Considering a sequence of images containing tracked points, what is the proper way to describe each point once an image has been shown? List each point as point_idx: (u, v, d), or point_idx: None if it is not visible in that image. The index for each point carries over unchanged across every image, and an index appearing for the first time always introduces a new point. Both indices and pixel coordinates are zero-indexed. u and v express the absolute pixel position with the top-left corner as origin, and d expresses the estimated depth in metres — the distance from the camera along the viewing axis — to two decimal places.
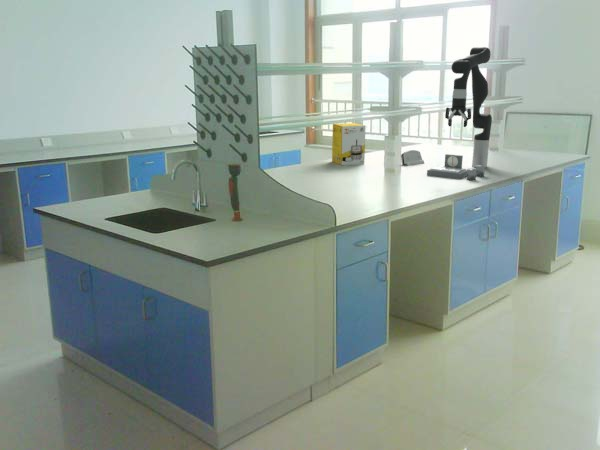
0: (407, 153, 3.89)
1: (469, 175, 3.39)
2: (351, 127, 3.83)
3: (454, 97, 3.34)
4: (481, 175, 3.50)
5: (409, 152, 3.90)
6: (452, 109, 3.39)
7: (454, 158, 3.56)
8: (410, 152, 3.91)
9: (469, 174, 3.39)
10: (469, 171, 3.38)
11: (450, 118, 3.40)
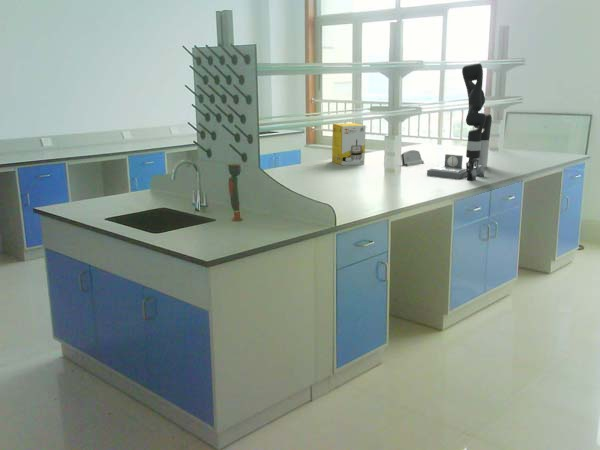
0: (407, 153, 3.89)
1: None
2: (351, 127, 3.83)
3: (478, 149, 3.33)
4: (481, 175, 3.50)
5: (409, 152, 3.90)
6: (472, 162, 3.35)
7: (454, 158, 3.56)
8: (410, 152, 3.91)
9: None
10: None
11: None
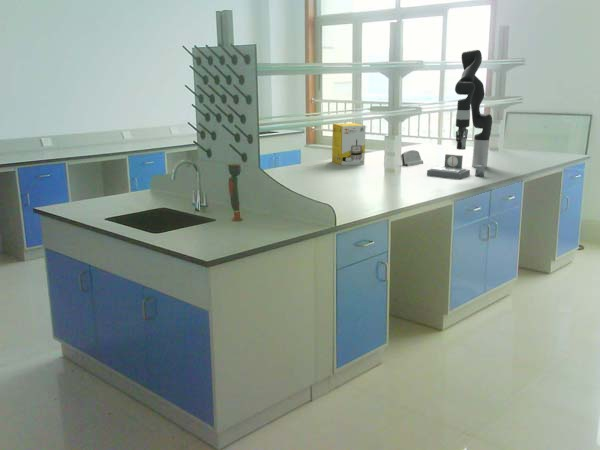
0: (407, 153, 3.88)
1: None
2: (351, 127, 3.83)
3: (467, 118, 3.35)
4: (481, 175, 3.50)
5: (409, 152, 3.90)
6: (462, 131, 3.37)
7: (454, 158, 3.56)
8: (410, 152, 3.90)
9: None
10: None
11: (461, 141, 3.39)
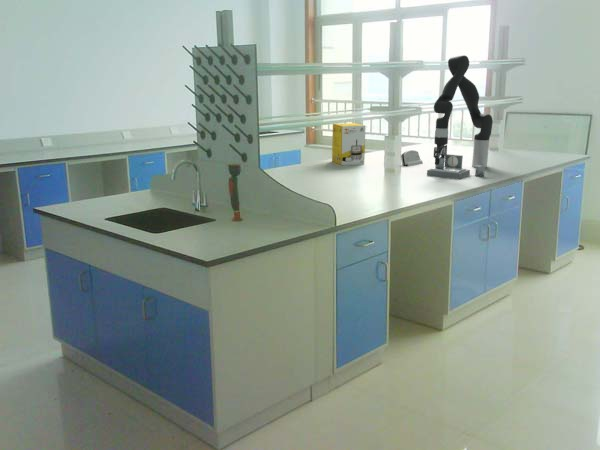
0: (407, 153, 3.88)
1: None
2: (351, 127, 3.83)
3: (445, 136, 3.47)
4: (481, 175, 3.50)
5: (409, 152, 3.89)
6: (440, 148, 3.49)
7: (454, 158, 3.56)
8: (410, 152, 3.90)
9: None
10: None
11: None
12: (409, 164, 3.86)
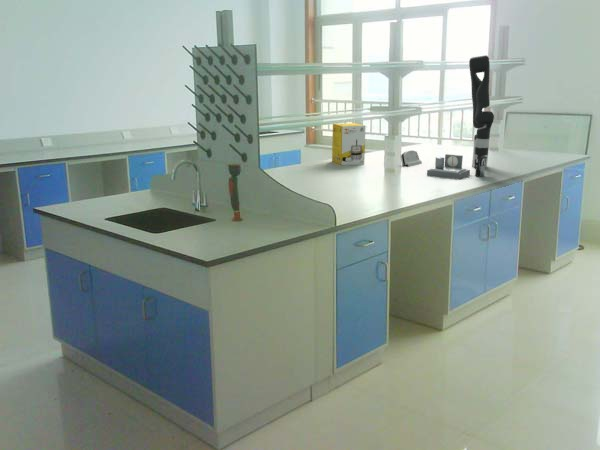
0: (407, 154, 3.87)
1: (437, 163, 3.53)
2: (351, 127, 3.83)
3: (486, 147, 3.45)
4: (481, 175, 3.50)
5: (408, 152, 3.88)
6: (480, 159, 3.46)
7: (454, 158, 3.56)
8: (409, 152, 3.89)
9: (437, 162, 3.52)
10: (437, 159, 3.52)
11: (480, 168, 3.48)
12: (409, 164, 3.85)
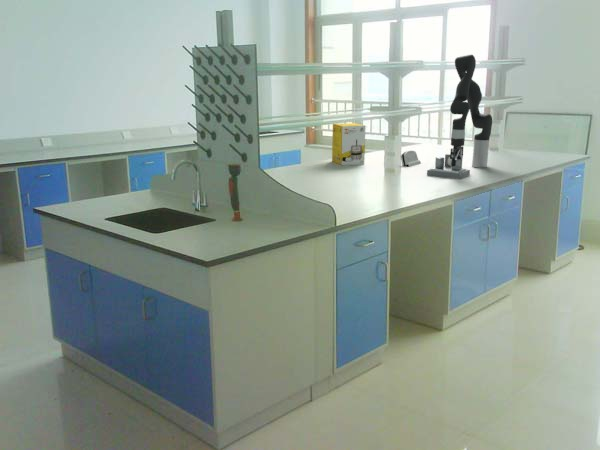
0: (407, 154, 3.86)
1: (437, 163, 3.53)
2: (351, 127, 3.83)
3: (462, 137, 3.41)
4: (457, 169, 3.47)
5: (408, 153, 3.87)
6: (456, 149, 3.43)
7: None
8: (409, 153, 3.88)
9: (437, 162, 3.52)
10: (437, 159, 3.52)
11: (455, 158, 3.44)
12: (410, 164, 3.84)
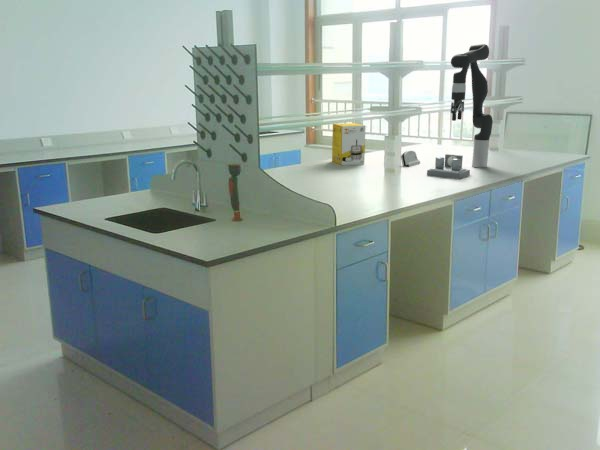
0: (407, 154, 3.85)
1: (437, 163, 3.53)
2: (351, 127, 3.83)
3: (463, 91, 3.39)
4: (457, 169, 3.47)
5: (408, 153, 3.87)
6: (457, 103, 3.41)
7: (454, 158, 3.56)
8: (409, 153, 3.88)
9: (437, 162, 3.52)
10: (437, 159, 3.52)
11: (456, 112, 3.42)
12: (410, 165, 3.84)
